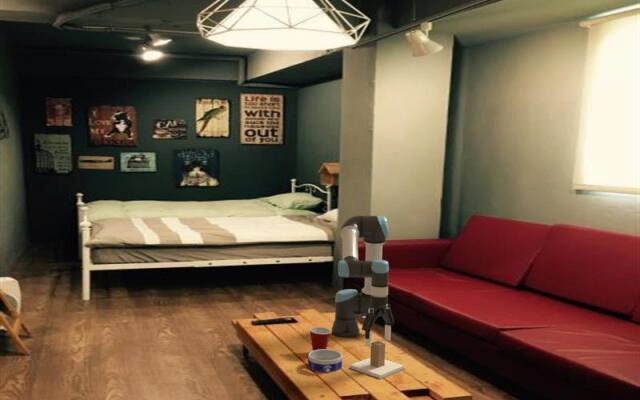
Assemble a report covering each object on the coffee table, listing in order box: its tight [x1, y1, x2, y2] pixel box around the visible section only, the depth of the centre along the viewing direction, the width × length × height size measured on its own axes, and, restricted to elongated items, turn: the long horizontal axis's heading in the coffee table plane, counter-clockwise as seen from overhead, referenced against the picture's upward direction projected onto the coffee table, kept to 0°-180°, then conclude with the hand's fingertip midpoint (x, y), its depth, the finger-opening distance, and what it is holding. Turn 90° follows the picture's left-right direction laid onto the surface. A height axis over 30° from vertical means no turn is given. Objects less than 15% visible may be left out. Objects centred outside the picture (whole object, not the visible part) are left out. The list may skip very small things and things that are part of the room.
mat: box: [349, 367, 406, 380], centre depth 258 cm, size 18×18×1 cm
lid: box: [349, 340, 405, 380], centre depth 258 cm, size 17×17×12 cm
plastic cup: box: [308, 326, 332, 351], centre depth 277 cm, size 11×11×12 cm
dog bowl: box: [307, 348, 343, 373], centre depth 260 cm, size 15×15×6 cm
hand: (378, 342), depth 257 cm, fingers open, 13 cm apart
